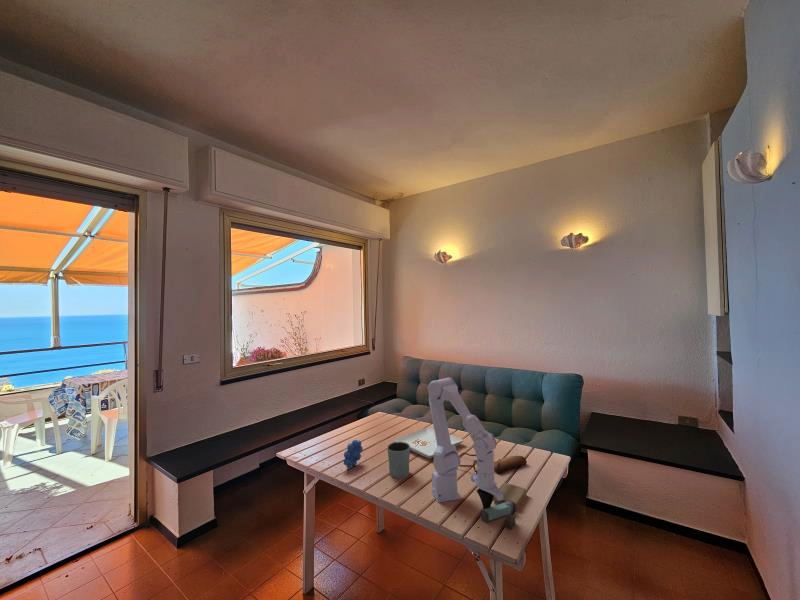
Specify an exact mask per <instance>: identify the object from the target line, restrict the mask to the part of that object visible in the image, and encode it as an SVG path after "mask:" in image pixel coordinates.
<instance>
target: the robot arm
mask: <svg viewBox="0 0 800 600" xmlns="http://www.w3.org/2000/svg"><path fill="white" fill-rule="evenodd" d="M426 387H427V392H428V403H429V410H430V414H431V415H430V416H431V421H432V425H433V430H434V431H435V436H436V442H437V448H436V450H435V451H434V453H433V454H434V457H433V467H434V470H435V471H434V472H432V474H431V489H432V490H431V493H432V494H433V496H434V498H435V500H436V502H437V503H442V502H449V501H456V500H461V499H462V496H461V495H460V493H459V491H458V471H459V470H458V469H459V467H460V466H459V465H461V461H462V460H461V457H460V454H459V452H458V450H457V446H456V447H455V446H453V445H452V444H451V441H450V436H449V435H450V431H449V427H448V421H447V417H446V411H445V407H444V402H445V401H447V402H450V404H451V405H452V407H454V409H455V411H456V412H457V413H458V414H459V416H460V417H461V418H462V426H463V428H464V429H465V430H466V432H467V434H468V435H469V436H470V438H471V440H472V441H473V443H472V448H473V450H474V452H475V455H476V456H475V457H476V460H477V463H476V471H477V472H476V473H477V474H476V473H475V474H470V481H471V482H474V483H475V485H476V487H478V488H477V489H476V493H477V494H478V496H479V498H480V501H481V505H482V510H484V509H487V508H490V507H492V502H493V501H494V496H495V497H496V498H497V500H498V501H500V500H503V493H502V492H501V491H500V489H499V487H498V486H497V481H496V480H495V472H494V462H495V460H494V459H495V458H494V457H495V456H494V455H495V453H494V451H495V449H496V448H497V443H498V442H497V440H496V438H495V436H494V434H492V433H490V432H488V431H487V430H486V429H485V427H484V426H483V424H482V423H481V422H480V421H481V420H480V419H479V418H478V417H477V415H475V414H472V413H471V412H470V411H469V409H468V407H467V405H466V403H465V402H464V400H463V398H462V396H461V395H460V393H459V388H458V385H457V383H456V382H455V380H454V379H453V378H452V377H450V376H448V377H445V378H441V379H437V380H435V379H434V380H431V381H430V382H429V384H428V385H427V386H426Z"/></svg>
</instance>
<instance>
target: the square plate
mask: <svg viewBox="0 0 800 600" xmlns="http://www.w3.org/2000/svg"><path fill="white" fill-rule="evenodd" d="M449 436H450V441H451V444H452V445H453V446H455V447H456V448H457V447H458V446H459V445H461V444H462V443H463V442H464V441H465V440H464V439H463V438H460V437H457V436H454V435H452V434H449ZM417 439H419V440H418V441H420V440H421V441H420V442H419V444H418V443H417V442H416V444H415V443H414V444H413V443H412V442H414V441H415V440H417ZM435 439H436V436H435V431H434V428H430V427H425V428H421V429H418V430H416V431H412V432H410V433H408V434H405V435H403V436H400V437H398V438H394V439H393V442H405V443H408V444H409V445H410V451H411V452H414V453H416V454H418V455H420V456H422V457H425V458H427V459H432V458H434V454H433V453H434V451H435V450H436V448H437V442H436V440H435ZM422 441H423V442H424V441H426V442H428V443H427V445H426V446H420V445H422V444H421V442H422ZM434 441H435V442H434ZM426 442H425V443H426ZM429 442H430V443H429ZM417 444H418V445H417ZM416 445H417V446H416ZM415 446H416V447H415Z"/></svg>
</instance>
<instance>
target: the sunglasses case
mask: <svg viewBox="0 0 800 600" xmlns="http://www.w3.org/2000/svg"><path fill="white" fill-rule="evenodd" d="M523 465H527V459H526V458H525V456H523V455H511V456H506V457H502V458H499V459H498V460H496V461H494V474H497V475H499V474H501V473H503V472H505V471H508V470H509V469H511V470H512V469H513V468H516V467H520V466H523Z"/></svg>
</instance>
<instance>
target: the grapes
mask: <svg viewBox="0 0 800 600" xmlns="http://www.w3.org/2000/svg"><path fill="white" fill-rule="evenodd" d="M346 447H347V450H345V451H344V452H343V457H344V459H343V465H344V466H346V469H348V468H349V469H351V468H353V467H352V466H354V465H358V461H360V460H361V458H362V454H361V453H362V452H363V446H362V441H361V440H360V439H359V440H357V439H356V438H355V439H353V440H351V442H349V443H348V444H347V446H346ZM354 467H355V466H354Z"/></svg>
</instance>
